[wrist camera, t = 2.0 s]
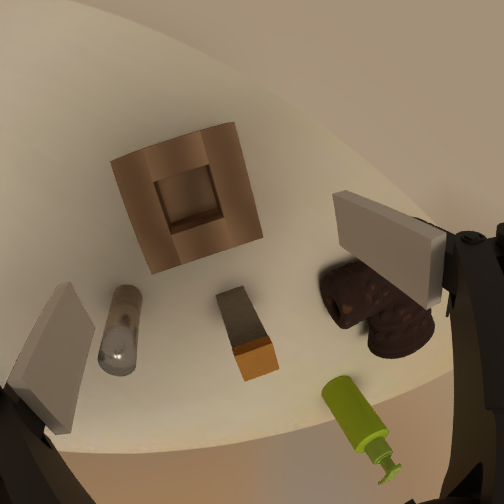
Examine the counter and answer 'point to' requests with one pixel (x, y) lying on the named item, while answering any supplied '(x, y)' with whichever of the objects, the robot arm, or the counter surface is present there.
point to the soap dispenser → (360, 423)
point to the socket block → (188, 197)
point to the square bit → (246, 334)
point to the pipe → (377, 310)
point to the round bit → (121, 332)
